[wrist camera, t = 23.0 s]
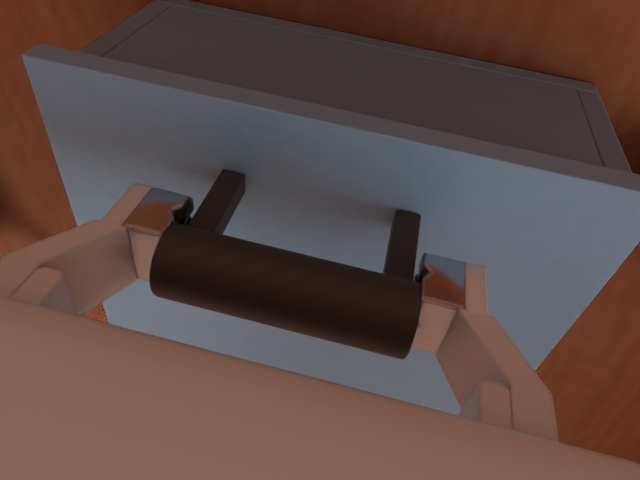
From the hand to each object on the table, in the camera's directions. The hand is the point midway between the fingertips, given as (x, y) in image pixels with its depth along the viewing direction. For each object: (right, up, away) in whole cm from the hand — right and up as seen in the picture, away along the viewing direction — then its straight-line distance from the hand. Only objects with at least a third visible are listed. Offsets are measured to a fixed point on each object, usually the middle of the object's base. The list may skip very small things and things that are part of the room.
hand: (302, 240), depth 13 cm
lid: (0, -2, +5) cm, 5 cm away
